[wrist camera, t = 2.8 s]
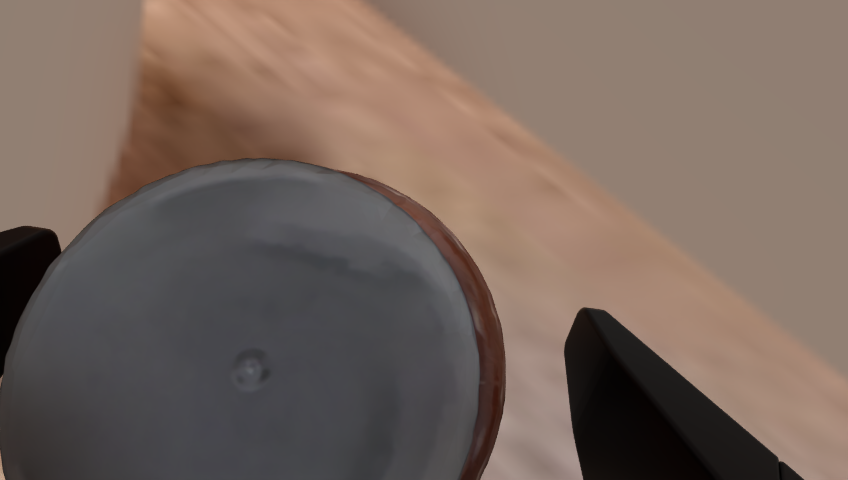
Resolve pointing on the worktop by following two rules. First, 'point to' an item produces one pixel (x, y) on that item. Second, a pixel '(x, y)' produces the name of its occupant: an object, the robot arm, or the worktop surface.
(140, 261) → the supplement bottle
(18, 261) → the robot arm
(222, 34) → the worktop surface
